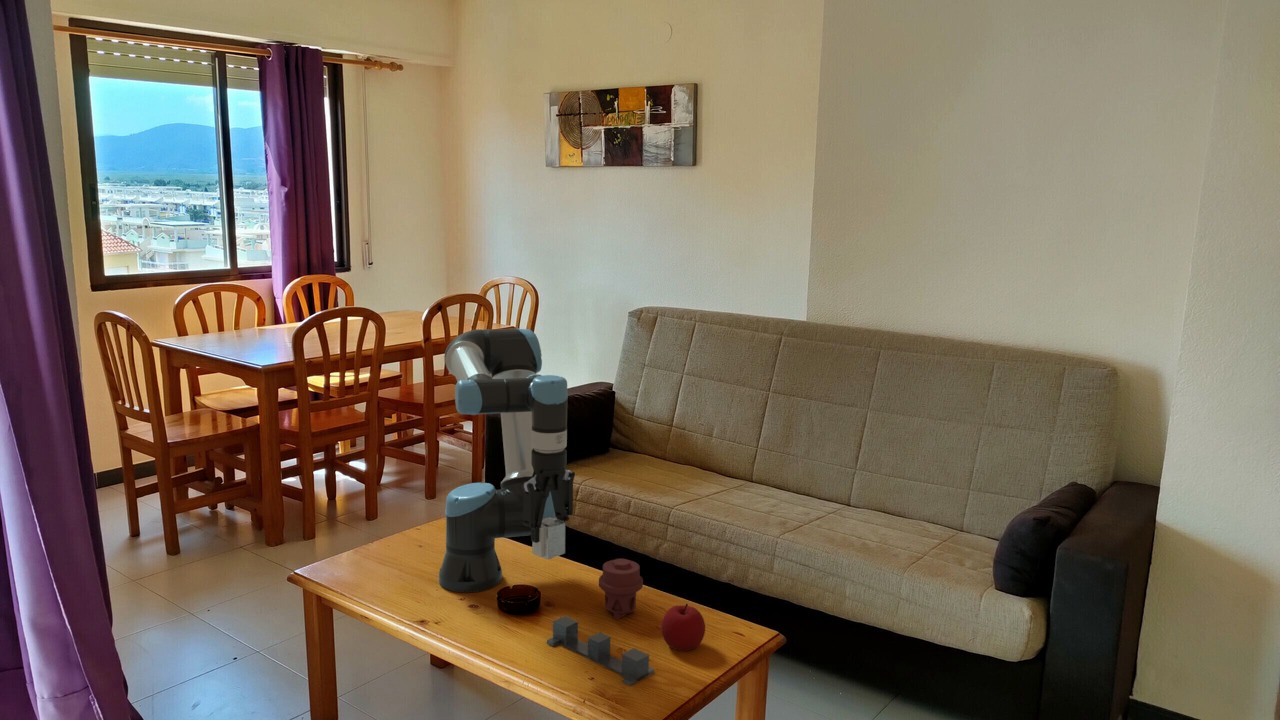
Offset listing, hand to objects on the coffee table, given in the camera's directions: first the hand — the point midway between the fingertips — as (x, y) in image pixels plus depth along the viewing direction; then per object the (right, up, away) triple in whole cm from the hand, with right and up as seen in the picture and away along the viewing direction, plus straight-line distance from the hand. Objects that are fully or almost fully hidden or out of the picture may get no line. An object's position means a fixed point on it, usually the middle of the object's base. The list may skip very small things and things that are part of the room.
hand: (548, 551), depth 197 cm
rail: (+12, -19, -12) cm, 25 cm away
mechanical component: (+16, -16, +9) cm, 24 cm away
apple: (+29, -19, -6) cm, 35 cm away
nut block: (0, 0, 0) cm, 0 cm away
